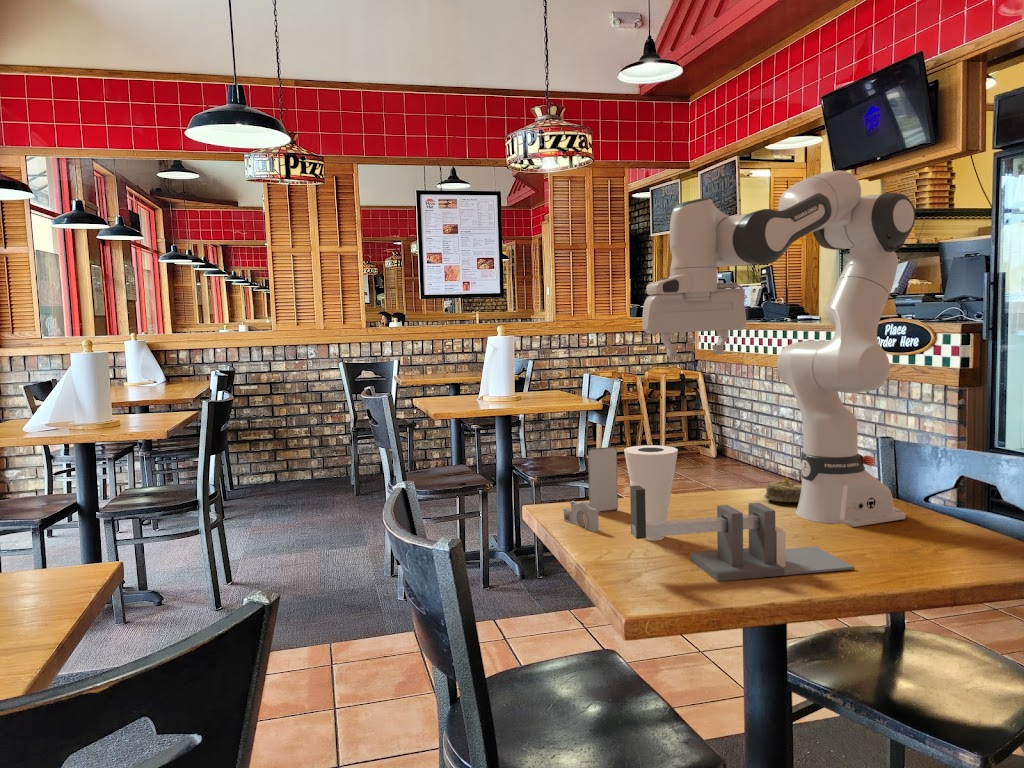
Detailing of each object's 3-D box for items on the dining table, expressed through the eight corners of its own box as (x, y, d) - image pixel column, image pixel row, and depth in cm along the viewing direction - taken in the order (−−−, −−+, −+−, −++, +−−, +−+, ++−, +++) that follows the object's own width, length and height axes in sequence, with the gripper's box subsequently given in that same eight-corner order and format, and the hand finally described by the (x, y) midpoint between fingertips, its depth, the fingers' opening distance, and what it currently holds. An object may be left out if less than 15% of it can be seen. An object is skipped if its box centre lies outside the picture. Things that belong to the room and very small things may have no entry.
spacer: (767, 555, 137) (767, 521, 137) (785, 566, 131) (785, 531, 130) (759, 556, 137) (759, 522, 136) (776, 567, 131) (776, 531, 130)
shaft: (754, 524, 135) (754, 477, 134) (763, 528, 131) (763, 481, 131) (631, 533, 131) (630, 486, 130) (636, 539, 128) (636, 490, 127)
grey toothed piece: (562, 522, 167) (562, 495, 166) (569, 520, 167) (568, 494, 167) (594, 534, 156) (593, 506, 156) (601, 533, 157) (600, 505, 156)
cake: (777, 506, 174) (777, 483, 173) (756, 496, 184) (755, 475, 183) (816, 503, 176) (816, 480, 175) (793, 493, 186) (793, 472, 185)
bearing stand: (751, 554, 140) (751, 498, 139) (784, 575, 128) (784, 515, 127) (690, 559, 138) (689, 503, 137) (717, 581, 126) (717, 520, 125)
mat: (816, 548, 142) (816, 546, 142) (854, 569, 130) (854, 566, 130) (751, 554, 140) (751, 551, 140) (784, 575, 128) (784, 573, 128)
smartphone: (590, 513, 172) (588, 449, 171) (589, 513, 173) (587, 448, 172) (618, 510, 174) (616, 446, 173) (617, 510, 175) (615, 446, 173)
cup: (626, 529, 159) (624, 445, 157) (677, 530, 157) (676, 445, 155) (625, 544, 148) (623, 454, 147) (680, 545, 146) (679, 454, 145)
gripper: (737, 283, 150) (737, 352, 151) (638, 286, 147) (640, 356, 148) (751, 281, 144) (752, 353, 145) (649, 284, 141) (650, 358, 142)
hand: (695, 355), depth 146 cm, fingers open, 8 cm apart
